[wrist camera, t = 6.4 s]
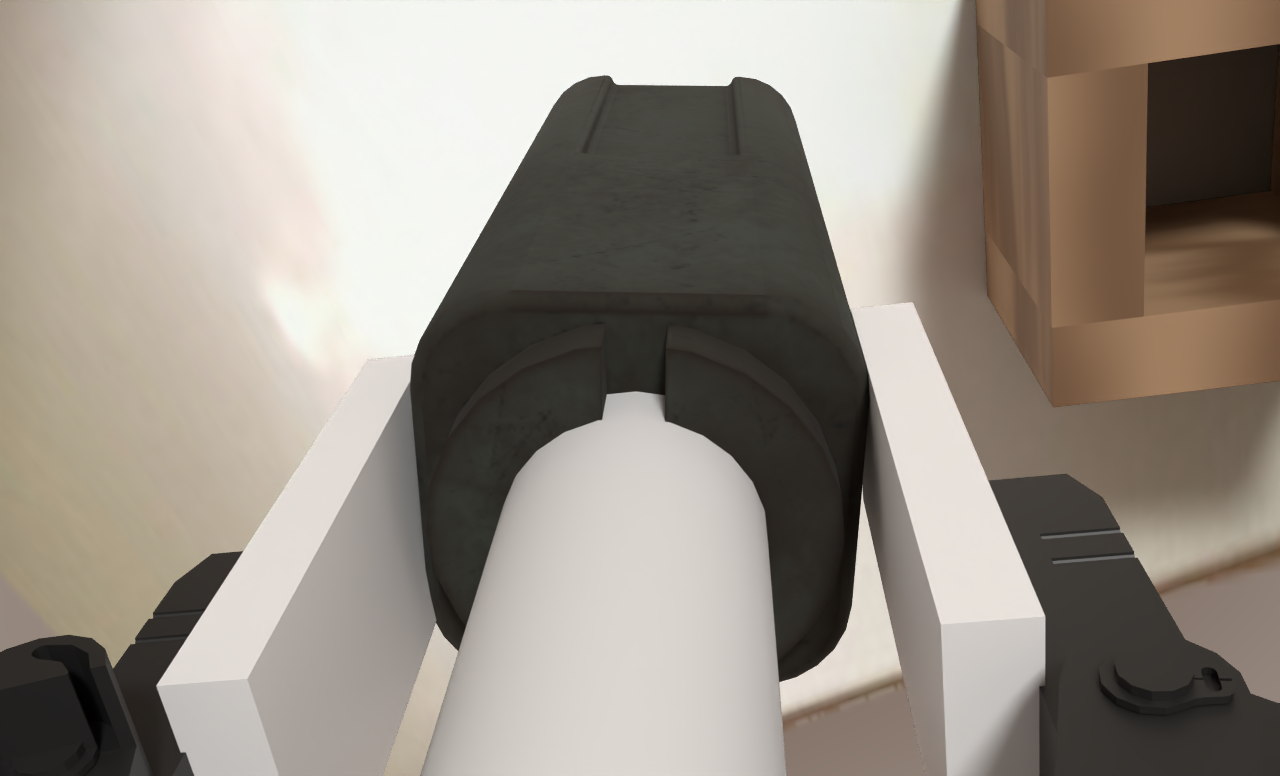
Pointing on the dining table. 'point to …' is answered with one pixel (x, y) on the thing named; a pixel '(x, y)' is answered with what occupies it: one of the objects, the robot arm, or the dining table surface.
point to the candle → (640, 444)
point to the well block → (1118, 204)
